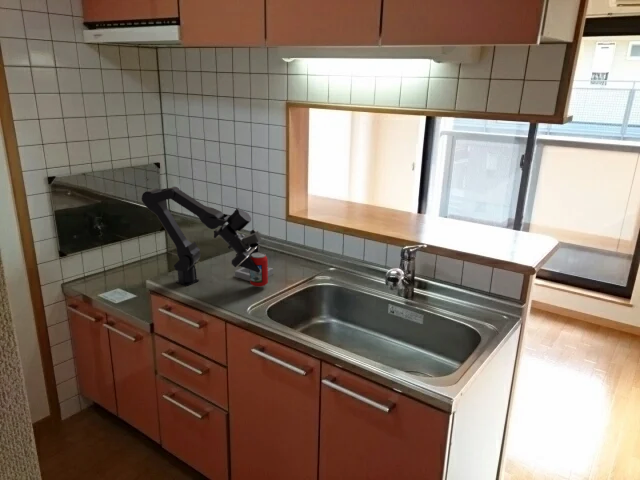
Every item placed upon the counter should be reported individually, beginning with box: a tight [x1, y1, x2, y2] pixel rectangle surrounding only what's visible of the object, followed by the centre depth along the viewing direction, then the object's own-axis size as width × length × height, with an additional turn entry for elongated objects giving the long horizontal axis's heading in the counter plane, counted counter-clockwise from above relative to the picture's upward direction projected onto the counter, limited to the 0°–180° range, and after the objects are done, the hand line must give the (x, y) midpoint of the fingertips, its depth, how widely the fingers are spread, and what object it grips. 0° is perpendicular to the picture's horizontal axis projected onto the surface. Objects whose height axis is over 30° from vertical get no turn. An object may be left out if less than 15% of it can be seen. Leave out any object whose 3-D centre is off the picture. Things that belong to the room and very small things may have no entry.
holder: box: [234, 267, 274, 282], centre depth 202 cm, size 11×11×2 cm
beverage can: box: [249, 252, 269, 288], centre depth 188 cm, size 7×7×12 cm
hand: (262, 268), depth 188 cm, fingers closed on beverage can, 7 cm apart
